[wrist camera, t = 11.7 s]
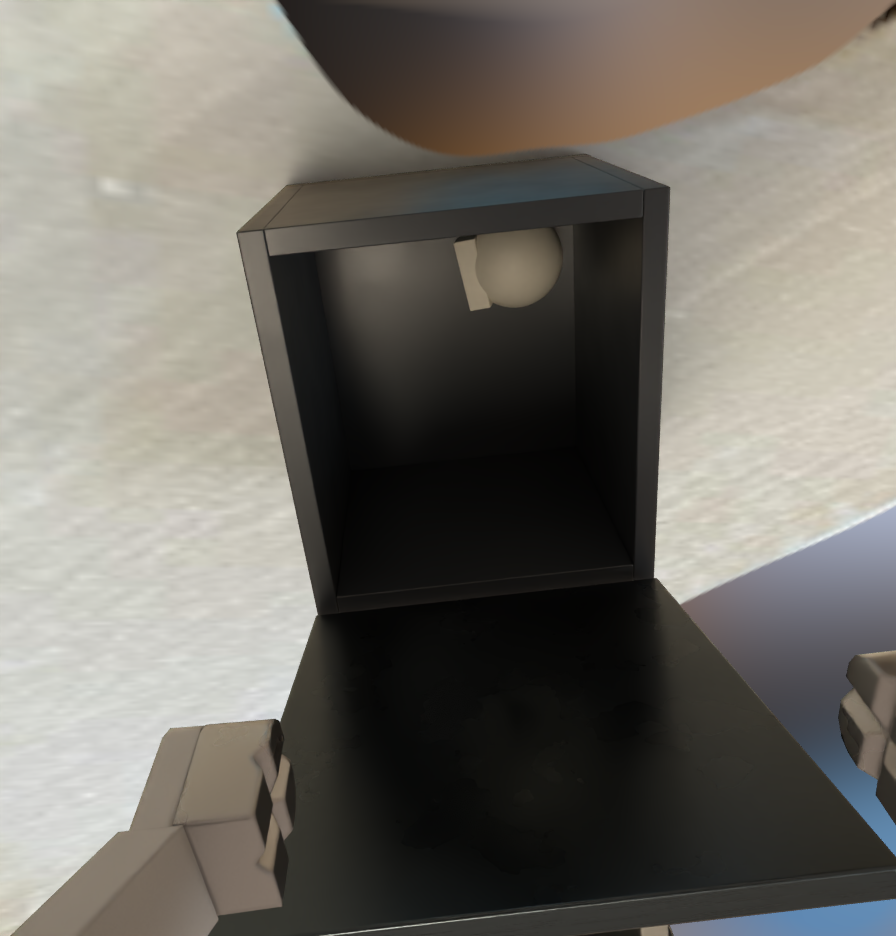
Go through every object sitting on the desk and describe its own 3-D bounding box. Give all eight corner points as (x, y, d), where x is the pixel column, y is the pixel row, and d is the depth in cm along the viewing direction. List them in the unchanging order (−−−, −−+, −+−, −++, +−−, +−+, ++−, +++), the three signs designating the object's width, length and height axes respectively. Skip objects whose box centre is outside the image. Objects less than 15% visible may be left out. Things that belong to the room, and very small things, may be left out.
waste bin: (285, 185, 36) (235, 232, 25) (586, 153, 36) (671, 186, 25) (338, 478, 43) (318, 616, 32) (588, 451, 43) (654, 579, 32)
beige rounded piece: (448, 210, 33) (546, 188, 32) (476, 229, 37) (564, 210, 36) (460, 310, 34) (558, 292, 32) (487, 318, 38) (575, 303, 36)
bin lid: (202, 947, 15) (242, 1142, 16) (906, 866, 15) (899, 1064, 16) (315, 614, 31) (332, 723, 32) (657, 577, 32) (662, 686, 33)
